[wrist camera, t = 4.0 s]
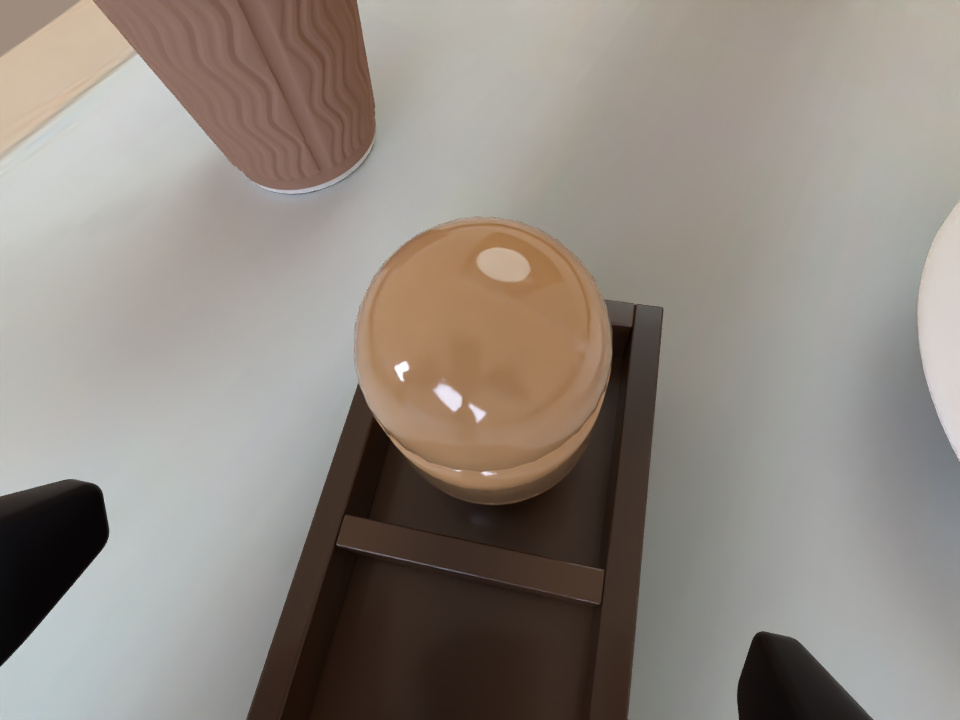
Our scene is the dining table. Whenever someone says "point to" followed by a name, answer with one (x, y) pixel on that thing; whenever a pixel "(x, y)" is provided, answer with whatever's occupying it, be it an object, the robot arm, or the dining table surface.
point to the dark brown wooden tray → (473, 578)
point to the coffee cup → (263, 81)
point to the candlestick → (942, 325)
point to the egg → (485, 357)
